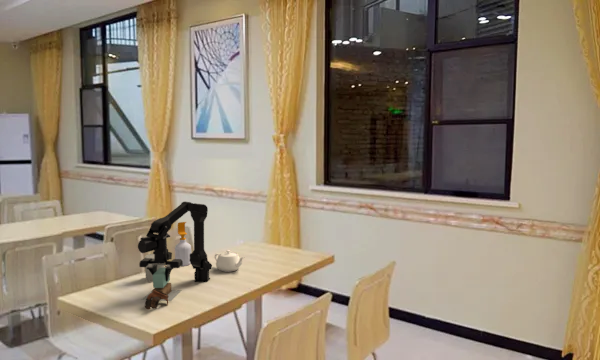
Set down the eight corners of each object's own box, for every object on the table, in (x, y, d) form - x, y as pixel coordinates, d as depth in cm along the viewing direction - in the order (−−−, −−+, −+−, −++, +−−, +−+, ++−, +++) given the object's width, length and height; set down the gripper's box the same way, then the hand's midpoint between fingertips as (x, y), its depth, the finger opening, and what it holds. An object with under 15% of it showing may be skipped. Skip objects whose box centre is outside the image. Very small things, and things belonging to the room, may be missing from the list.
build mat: (182, 291, 230) (181, 290, 230) (171, 301, 216) (171, 300, 216) (153, 290, 232) (153, 289, 232) (141, 300, 218) (141, 299, 218)
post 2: (171, 291, 229) (171, 283, 229) (167, 294, 224) (167, 286, 224) (161, 290, 230) (161, 282, 229) (157, 294, 225) (156, 286, 224)
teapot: (206, 269, 265) (205, 250, 264) (223, 263, 276) (223, 245, 275) (236, 276, 253) (235, 256, 251) (253, 270, 264) (252, 250, 262)
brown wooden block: (167, 295, 224) (166, 286, 223) (162, 299, 219) (162, 290, 218) (156, 294, 224) (156, 286, 224) (152, 298, 219) (151, 290, 219)
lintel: (160, 279, 229) (160, 267, 228) (170, 279, 229) (169, 267, 228) (153, 287, 218) (152, 274, 217) (163, 287, 218) (162, 274, 217)
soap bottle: (177, 267, 269) (176, 223, 266) (173, 262, 277) (172, 220, 274) (193, 264, 273) (192, 222, 271) (189, 260, 281) (188, 219, 279)
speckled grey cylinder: (159, 282, 243) (158, 258, 241) (142, 281, 245) (141, 257, 243) (168, 276, 252) (167, 253, 251) (151, 275, 254) (150, 253, 252)
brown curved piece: (143, 305, 214) (152, 287, 216) (163, 313, 215) (171, 296, 217) (141, 308, 202) (150, 289, 204) (162, 316, 204) (170, 298, 206)
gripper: (186, 244, 229) (187, 276, 230) (148, 243, 231) (149, 275, 232) (177, 250, 218) (178, 283, 219) (138, 249, 220) (139, 282, 221)
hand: (161, 281), depth 223 cm, fingers closed on lintel, 5 cm apart
